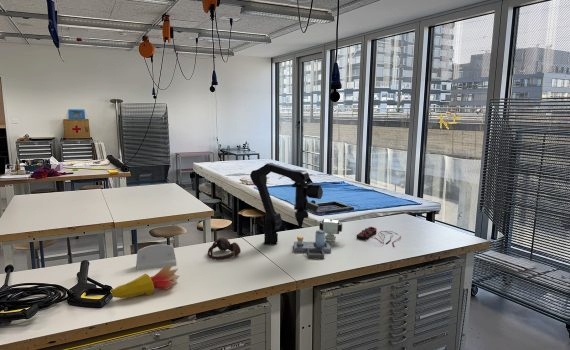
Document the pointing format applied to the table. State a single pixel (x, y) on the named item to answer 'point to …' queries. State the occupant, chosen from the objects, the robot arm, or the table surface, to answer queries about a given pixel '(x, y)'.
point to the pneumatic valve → (330, 228)
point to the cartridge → (320, 238)
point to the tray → (315, 253)
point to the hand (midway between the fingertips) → (300, 227)
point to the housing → (311, 247)
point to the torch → (148, 283)
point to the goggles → (224, 245)
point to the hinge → (155, 257)
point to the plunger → (300, 241)
